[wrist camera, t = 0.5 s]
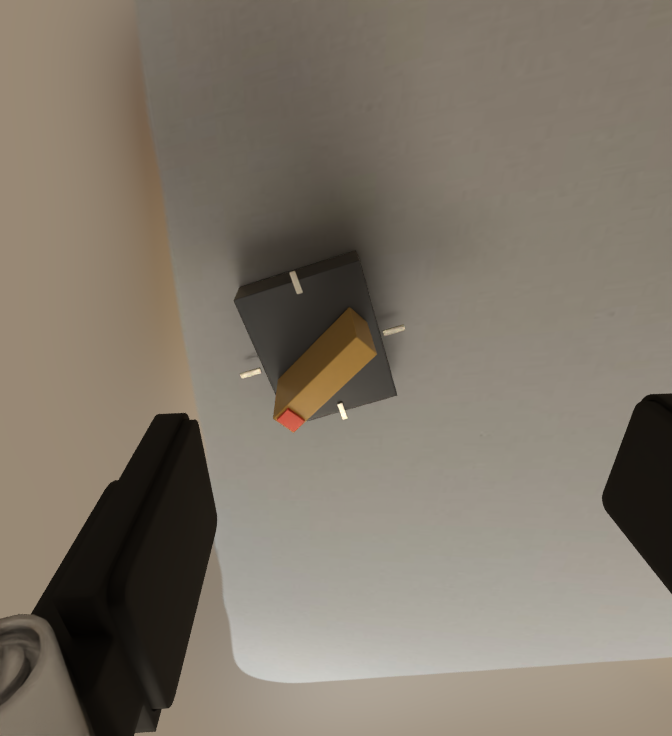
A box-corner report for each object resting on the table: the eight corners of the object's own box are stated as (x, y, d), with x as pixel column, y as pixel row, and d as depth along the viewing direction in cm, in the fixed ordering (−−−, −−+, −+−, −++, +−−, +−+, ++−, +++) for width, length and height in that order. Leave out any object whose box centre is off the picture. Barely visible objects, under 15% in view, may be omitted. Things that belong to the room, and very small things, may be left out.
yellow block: (349, 306, 27) (357, 338, 22) (367, 322, 27) (378, 356, 23) (277, 379, 29) (272, 421, 25) (295, 393, 29) (293, 435, 25)
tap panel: (212, 286, 28) (203, 300, 26) (377, 233, 27) (383, 242, 25) (273, 418, 33) (271, 440, 31) (413, 378, 32) (421, 397, 30)
